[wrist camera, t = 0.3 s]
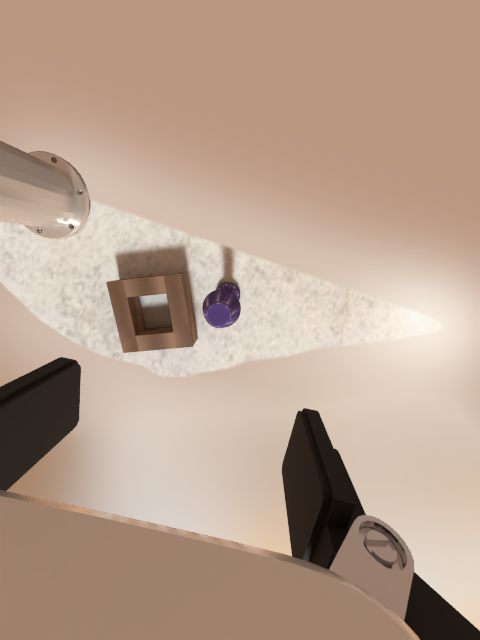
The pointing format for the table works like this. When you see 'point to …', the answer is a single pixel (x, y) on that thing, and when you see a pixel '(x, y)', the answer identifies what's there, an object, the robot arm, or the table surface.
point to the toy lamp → (222, 306)
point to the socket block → (131, 316)
